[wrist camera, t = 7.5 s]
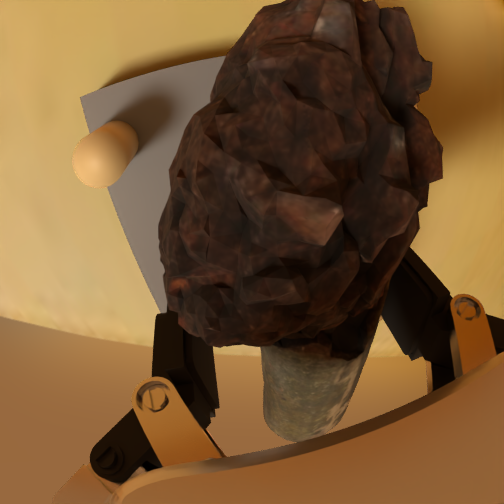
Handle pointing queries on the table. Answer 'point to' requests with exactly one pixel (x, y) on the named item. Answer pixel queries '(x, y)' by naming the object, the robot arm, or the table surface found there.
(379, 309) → the dark elongated piece
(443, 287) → the robot arm
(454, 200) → the table surface
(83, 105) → the pipe stand
